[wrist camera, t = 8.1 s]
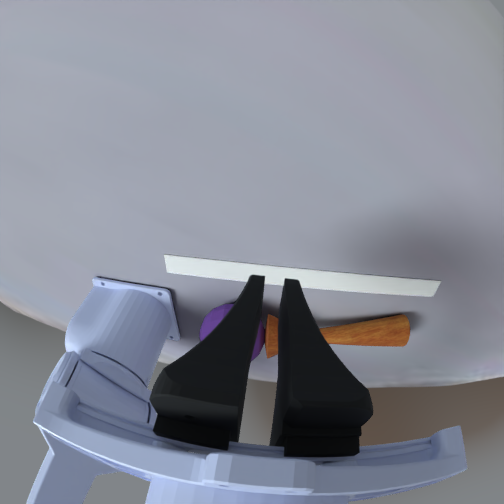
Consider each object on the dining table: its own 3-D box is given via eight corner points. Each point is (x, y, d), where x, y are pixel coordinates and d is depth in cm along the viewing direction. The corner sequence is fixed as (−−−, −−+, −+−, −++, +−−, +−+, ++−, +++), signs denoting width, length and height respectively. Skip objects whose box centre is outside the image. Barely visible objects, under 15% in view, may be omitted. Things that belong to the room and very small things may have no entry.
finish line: (167, 271, 25) (167, 272, 25) (164, 254, 24) (164, 254, 24) (432, 296, 24) (433, 296, 23) (440, 280, 22) (441, 281, 22)
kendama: (396, 367, 25) (202, 373, 26) (386, 320, 29) (208, 322, 30) (422, 342, 21) (189, 348, 21) (406, 289, 25) (199, 289, 25)
